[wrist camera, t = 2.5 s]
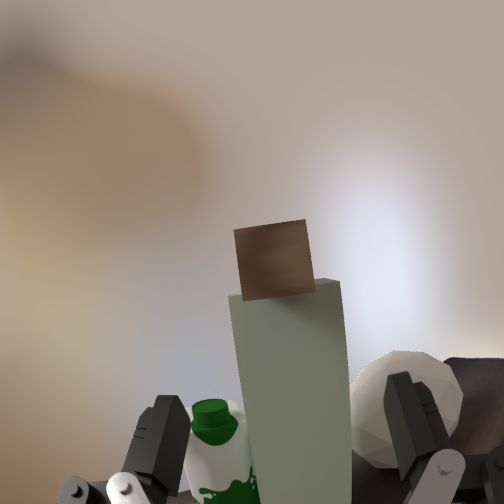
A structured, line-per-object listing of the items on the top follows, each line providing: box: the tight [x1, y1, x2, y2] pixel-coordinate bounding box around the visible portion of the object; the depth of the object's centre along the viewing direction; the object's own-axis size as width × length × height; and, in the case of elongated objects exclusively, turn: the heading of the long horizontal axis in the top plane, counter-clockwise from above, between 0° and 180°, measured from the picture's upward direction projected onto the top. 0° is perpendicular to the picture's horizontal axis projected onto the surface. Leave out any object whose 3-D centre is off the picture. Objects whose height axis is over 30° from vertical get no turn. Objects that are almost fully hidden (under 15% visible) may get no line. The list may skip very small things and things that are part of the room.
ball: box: [349, 351, 463, 468], centre depth 40 cm, size 19×20×20 cm
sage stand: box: [228, 278, 352, 504], centre depth 30 cm, size 9×13×32 cm
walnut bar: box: [234, 219, 316, 301], centre depth 28 cm, size 4×21×4 cm, turn 172°
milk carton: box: [183, 399, 261, 504], centre depth 33 cm, size 9×9×20 cm
